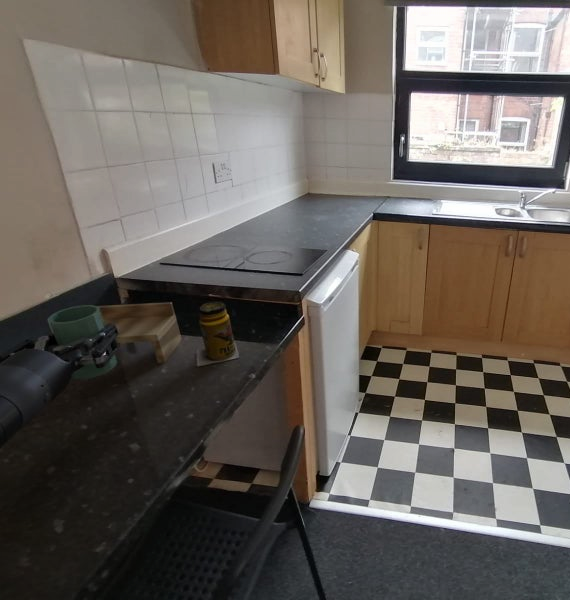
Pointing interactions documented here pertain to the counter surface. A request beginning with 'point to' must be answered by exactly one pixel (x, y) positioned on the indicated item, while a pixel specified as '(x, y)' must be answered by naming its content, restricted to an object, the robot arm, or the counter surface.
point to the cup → (80, 334)
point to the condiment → (215, 335)
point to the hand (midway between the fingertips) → (90, 329)
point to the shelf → (145, 325)
